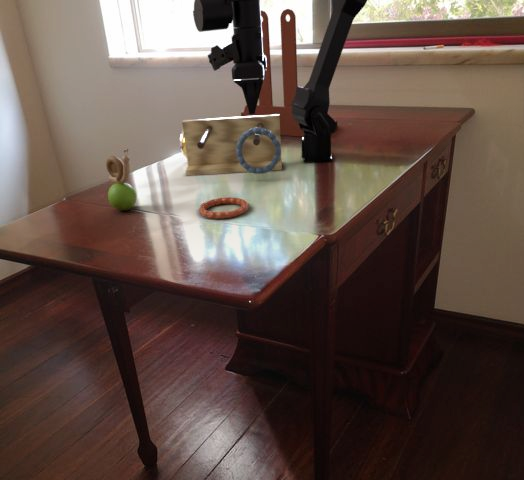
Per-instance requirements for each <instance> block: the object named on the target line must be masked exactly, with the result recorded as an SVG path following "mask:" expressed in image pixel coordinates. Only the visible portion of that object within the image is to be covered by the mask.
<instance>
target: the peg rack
mask: <svg viewBox="0 0 524 480" xmlns="http://www.w3.org/2000/svg"><path fill="white" fill-rule="evenodd" d="M181 123H182V130H183V132H184V139H185V146H186V153H187V158H186V160H187V167H186V169H185V175H186V176H202V175H203V176H204V175H221V174H238V173H250V172H249V171H247V170H246V169H245V168H244V167H242V166H241V164H240V162H239V160H238V158H237V153H236V146H237V143H238V140H239V138H240V137H241V136H242V134H243V133H244V132H246V131H248V130H250V129H251V128H264V129H267V130H270V131H271V132H272V133H273V134H274V135H275V136H276V137H277V139H278V141H279V143H280V148H281V149H282V139H281V138H282V137H281V136H282V135H280V115H279V114H273V115H257V116H242V117H241V116H227V117H213V118H197V119H196V118H195V119H183V120H182V121H181ZM274 155H275V146H274V144H273V142H272V140H271V139H270V138H268V137H267V136H265V135H263V134H253V135H251V136H249V137H248V138H247V139H246V140H245V141H244V143H243V146H242V156H243V158H244V160H245V162H247V163H248V164H249V165H250V166H252V167H255V168H263V167H265V166H267V165H269V164H270V163H271V162H272V160H273V158H274ZM282 166H283V159H282V154H281V155H280V158H279V161H278V163H277V164H276V166H275V167H274V168H273V169H272V170H270V171H269V172H271V171H272V172H273V171H282V170H283V169H282V168H283V167H282Z"/></svg>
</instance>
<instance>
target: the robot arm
mask: <svg viewBox="0 0 524 480" xmlns="http://www.w3.org/2000/svg"><path fill="white" fill-rule="evenodd" d="M367 2H368V0H331V7H332V8H331V9H332V11H331V15H330V17H329V21H328V24H327V26H326V30H325V33H324V36H323V39H322V41H321V45H320V48H319V50H318V53H317V56H316V59H315V61H314V65H313V68H312V71H311V74H310V77H309V80H308V82H306V84H305V85H304V86H298V87H297V89H296V92H295V97H294V99H293V101H292V103H291V105H293V106H292V115H293V118H294V120H295V121H296V122H297V123H298V125H299V128H300V130H304V137H302V136H301V138H300V140H301V141H300V143H301V146H300V147H301V158H302V159H303V162H304V163H313V162H314V163H316V162H317V163H318V162H332V160H333V157H332V134H335V133H336V130H337V128H338V122H337V123H336V122H335V121H336V120H335V121H334V118H333V117H332V116H331V115H330V114H329V108H330V103H331V101H330V99H331V98H330V88H331V84H332V81H333V78H334V75H335V73H336V69H337V67H338V64H339V62H340V59H341V55H342V54H343V50H344V47H345V45H346V42H347V39H348V36H349V34H350V31H351V27H352V25H353V22H354V20H355V18H356V17H357V16H358V14H359V13H360V12H361V11H362V10H363V8H364V7H365V6H366V4H367ZM261 9H262V8H261V0H194V2H193V11H192V15H193V21H194V25H195V28H196V29H197V31H198V32H199V33H201V32H211V31H221V30H227V29H229V27H230V24H232V27H233V34H232V36H231V42H230V43H227V44H225V45H223V46H221V45H220V44H216V45H214V46H212V47H211V48H210V53H208V55H206V56H207V58H208V63H209V64H211V67H212V69H213V71H214V72H215V71H218V70H219V69H221V67H223V66H226V65H227V64H229V63H231V62H233V63H232V64H234V65H233V66H232V67H231V79H232V80H233V83H234V84H236V85H237V86H239V87H240V89H241V90H242V92H243V96H244V99H245V104H246V105H247V107H248V111H249V114H255V110H256V106H257V105H258V104H259V95H260V92H261V88H262V84H263V80H264V77H265V73H266V69H264V68H266V67H267V62H266V56H265V55H264V53H263V44H262V37H263V34H262V27H261V23H262V16H261Z"/></svg>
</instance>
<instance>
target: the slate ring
mask: <svg viewBox="0 0 524 480" xmlns="http://www.w3.org/2000/svg"><path fill="white" fill-rule="evenodd" d="M253 134H263V135H265V136H267V137H268V138H270V139H271V140H272V142H273V144H274V146H275V155H274V158H273V160H272V162H271V163H270V164H269V165H267V166H265V167H263V168H255V167H252V166H250V165H249V164H248V163H247V162H245V160H244V158H243V156H242V146H243V143H244V141H245V140H246V139H247V138H248V137H249V136H251V135H253ZM236 153H237V158H238V160H239V162H240V164H241V166H242V167H244V168H245V169H246V170H247V171H249V172H248V173H251V174H255V175H260V174H266V173H268V172H271V171H270V170H272V169H273V168H274V167H275V166H276V164H277V163H278V161H279V158H280V155H281V156H282V147H281V148H280V143H279V141H278V139H277V137H276V136H275V135H274V134H273V133H272V132H271V131H270V130H267V129H264V128H251V129H250V130H248V131H246V132H244V133H243V134H242V136H241V137H240V138H239V140H238V143H237V146H236Z"/></svg>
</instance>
